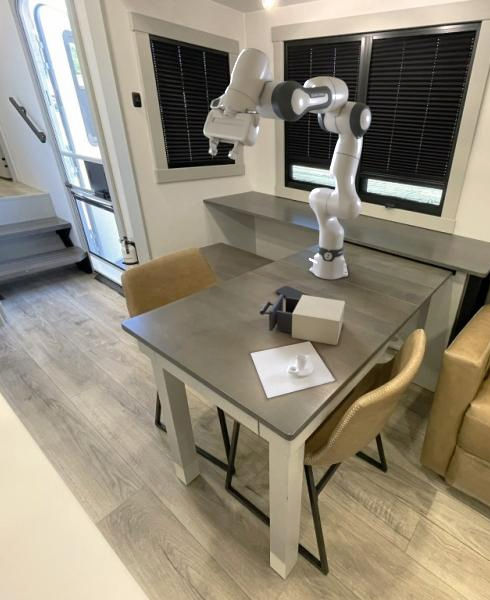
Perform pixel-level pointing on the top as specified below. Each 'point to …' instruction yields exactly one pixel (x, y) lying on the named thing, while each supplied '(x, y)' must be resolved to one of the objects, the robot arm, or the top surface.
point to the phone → (290, 292)
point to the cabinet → (318, 319)
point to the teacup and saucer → (290, 369)
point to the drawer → (280, 313)
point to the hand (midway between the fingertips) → (221, 156)
